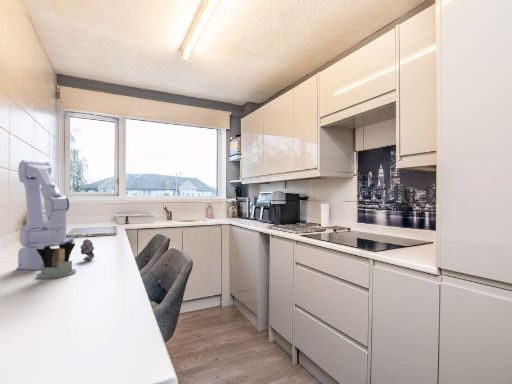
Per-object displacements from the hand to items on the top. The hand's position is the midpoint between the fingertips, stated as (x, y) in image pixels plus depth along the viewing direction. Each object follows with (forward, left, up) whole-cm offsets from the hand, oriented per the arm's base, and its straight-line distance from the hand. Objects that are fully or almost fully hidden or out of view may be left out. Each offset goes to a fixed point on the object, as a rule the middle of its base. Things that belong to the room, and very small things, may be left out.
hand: (56, 264), depth 106 cm
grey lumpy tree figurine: (-5, +22, -4) cm, 23 cm away
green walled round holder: (0, 0, -4) cm, 4 cm away
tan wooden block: (0, 0, -3) cm, 3 cm away
